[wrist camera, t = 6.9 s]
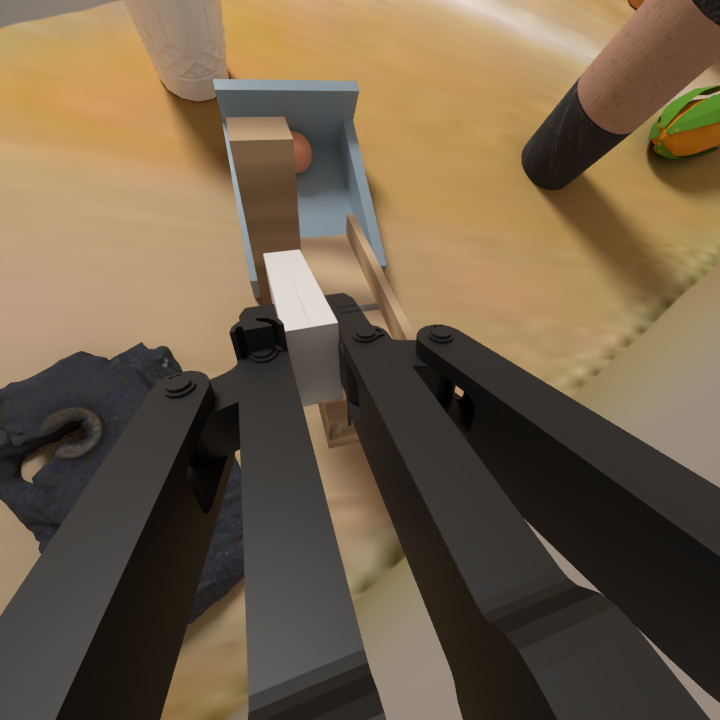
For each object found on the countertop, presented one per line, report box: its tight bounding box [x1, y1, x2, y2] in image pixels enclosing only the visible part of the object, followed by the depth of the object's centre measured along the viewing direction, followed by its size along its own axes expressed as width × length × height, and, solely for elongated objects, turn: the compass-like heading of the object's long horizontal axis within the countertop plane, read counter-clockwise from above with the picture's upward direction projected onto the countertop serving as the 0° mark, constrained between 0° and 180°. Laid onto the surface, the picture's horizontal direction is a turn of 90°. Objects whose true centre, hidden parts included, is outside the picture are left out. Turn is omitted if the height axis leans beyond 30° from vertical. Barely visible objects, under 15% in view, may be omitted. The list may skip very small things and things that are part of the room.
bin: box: [213, 79, 387, 298], centre depth 31 cm, size 16×12×7 cm
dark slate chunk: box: [0, 342, 244, 625], centre depth 25 cm, size 15×22×5 cm
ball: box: [290, 131, 312, 174], centre depth 32 cm, size 4×4×4 cm
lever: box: [226, 117, 416, 448], centre depth 19 cm, size 18×9×12 cm, turn 12°
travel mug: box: [522, 0, 720, 190], centre depth 32 cm, size 8×8×20 cm
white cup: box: [124, 0, 229, 102], centre depth 30 cm, size 8×8×10 cm
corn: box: [648, 86, 720, 159], centre depth 44 cm, size 7×8×20 cm
